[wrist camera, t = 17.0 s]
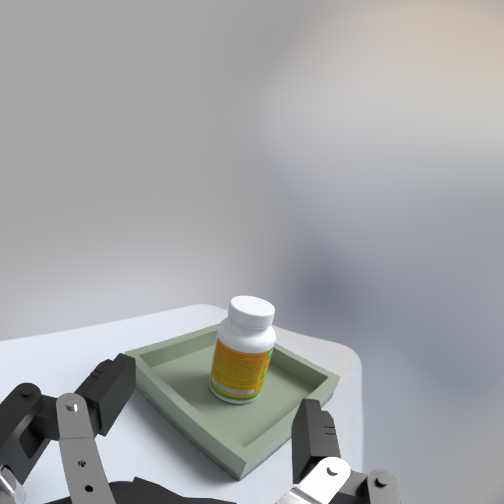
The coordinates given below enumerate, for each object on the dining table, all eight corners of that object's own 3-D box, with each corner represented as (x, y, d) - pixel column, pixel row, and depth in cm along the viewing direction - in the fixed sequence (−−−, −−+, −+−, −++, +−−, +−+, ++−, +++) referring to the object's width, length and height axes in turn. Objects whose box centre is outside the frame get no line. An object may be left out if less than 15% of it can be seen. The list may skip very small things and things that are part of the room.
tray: (125, 374, 27) (124, 352, 26) (229, 338, 39) (232, 318, 39) (239, 481, 17) (246, 462, 17) (331, 397, 30) (340, 377, 29)
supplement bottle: (264, 407, 26) (289, 322, 24) (208, 403, 25) (223, 315, 23) (256, 374, 31) (276, 296, 29) (208, 369, 30) (221, 288, 28)
